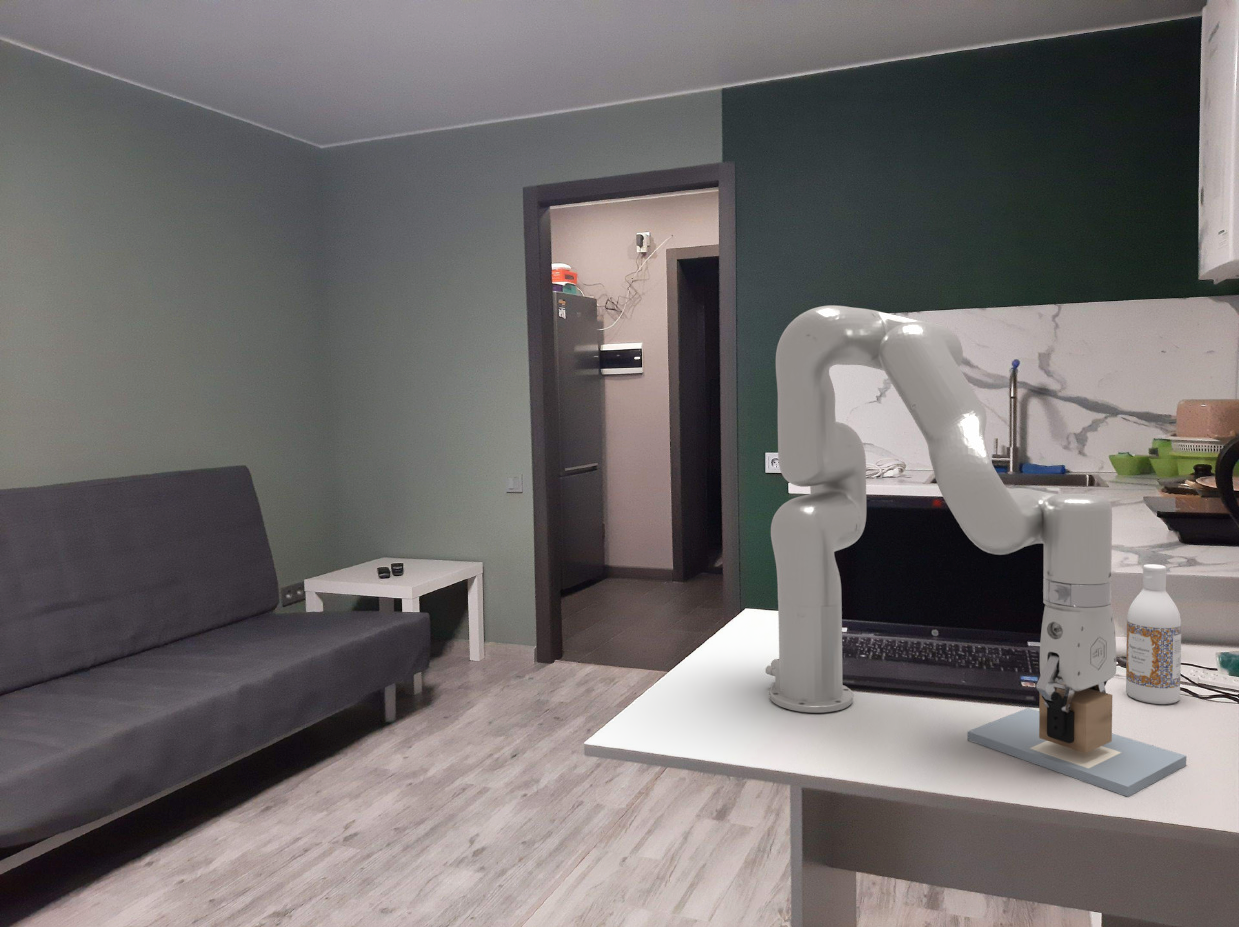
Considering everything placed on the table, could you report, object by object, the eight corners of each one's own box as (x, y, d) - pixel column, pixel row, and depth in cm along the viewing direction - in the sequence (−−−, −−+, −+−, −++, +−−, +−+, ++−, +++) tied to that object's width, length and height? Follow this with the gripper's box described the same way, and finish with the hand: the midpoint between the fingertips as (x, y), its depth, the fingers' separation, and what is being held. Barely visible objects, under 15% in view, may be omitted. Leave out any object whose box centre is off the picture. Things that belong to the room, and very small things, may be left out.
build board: (967, 739, 120) (967, 730, 120) (1027, 715, 127) (1027, 707, 127) (1127, 796, 102) (1127, 786, 102) (1186, 764, 110) (1186, 755, 110)
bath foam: (1115, 694, 135) (1116, 564, 133) (1146, 686, 138) (1148, 559, 136) (1158, 708, 129) (1160, 572, 127) (1190, 700, 131) (1193, 567, 130)
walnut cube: (1039, 737, 113) (1039, 692, 113) (1065, 726, 116) (1065, 682, 116) (1085, 753, 108) (1086, 705, 108) (1111, 741, 111) (1112, 694, 111)
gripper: (1067, 610, 103) (1066, 760, 104) (1143, 587, 112) (1140, 725, 114) (1008, 598, 109) (1007, 740, 111) (1084, 578, 119) (1083, 709, 120)
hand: (1075, 731), depth 112 cm, fingers closed on walnut cube, 6 cm apart
